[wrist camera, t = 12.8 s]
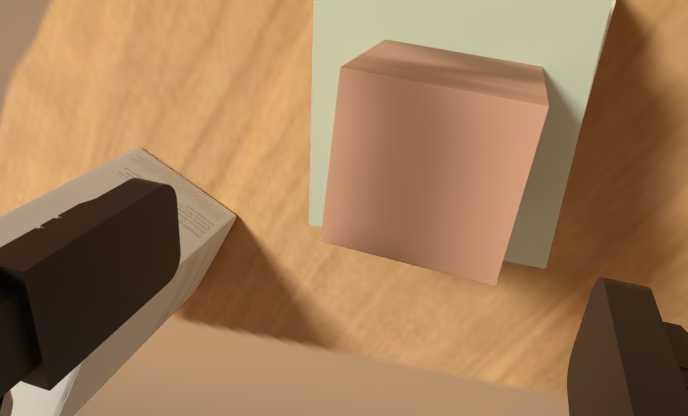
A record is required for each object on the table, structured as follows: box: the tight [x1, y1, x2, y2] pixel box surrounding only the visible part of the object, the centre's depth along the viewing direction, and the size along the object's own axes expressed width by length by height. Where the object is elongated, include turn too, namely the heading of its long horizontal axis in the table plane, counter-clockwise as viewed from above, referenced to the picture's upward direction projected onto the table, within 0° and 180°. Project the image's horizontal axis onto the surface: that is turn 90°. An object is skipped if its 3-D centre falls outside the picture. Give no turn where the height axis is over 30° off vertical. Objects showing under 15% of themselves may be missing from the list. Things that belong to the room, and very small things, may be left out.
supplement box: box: [0, 147, 237, 416], centre depth 28 cm, size 7×7×13 cm
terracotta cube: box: [320, 39, 549, 286], centre depth 16 cm, size 5×5×5 cm
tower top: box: [309, 0, 612, 269], centre depth 20 cm, size 9×9×4 cm
